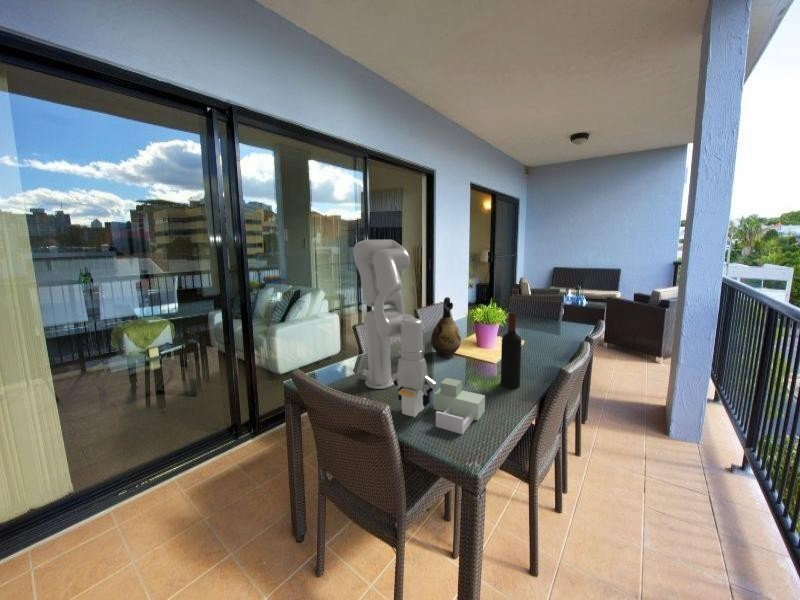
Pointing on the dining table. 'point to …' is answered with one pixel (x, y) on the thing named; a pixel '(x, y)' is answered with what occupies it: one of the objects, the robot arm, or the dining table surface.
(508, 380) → the wine bottle
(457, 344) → the ceramic jug
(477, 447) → the dining table surface
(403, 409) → the orange-topped white box
